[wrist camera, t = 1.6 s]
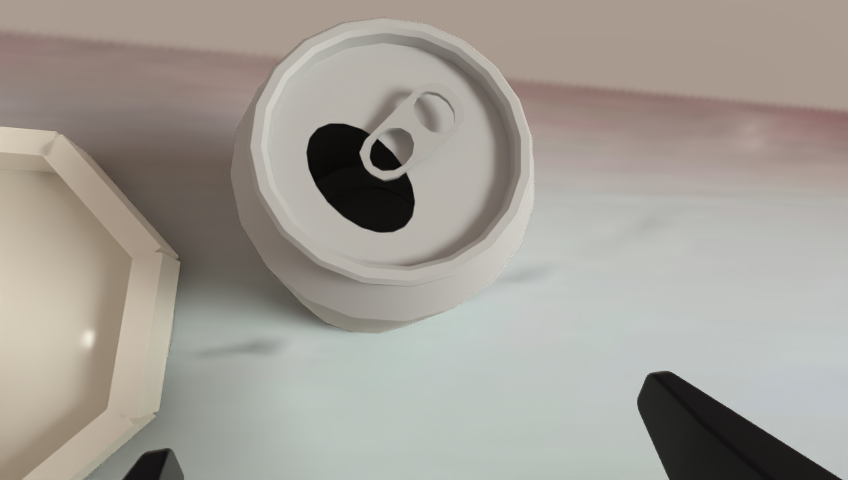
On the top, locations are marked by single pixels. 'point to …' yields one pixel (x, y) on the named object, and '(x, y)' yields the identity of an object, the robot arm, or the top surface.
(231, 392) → the top surface
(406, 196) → the can
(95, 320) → the bowl
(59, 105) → the top surface
